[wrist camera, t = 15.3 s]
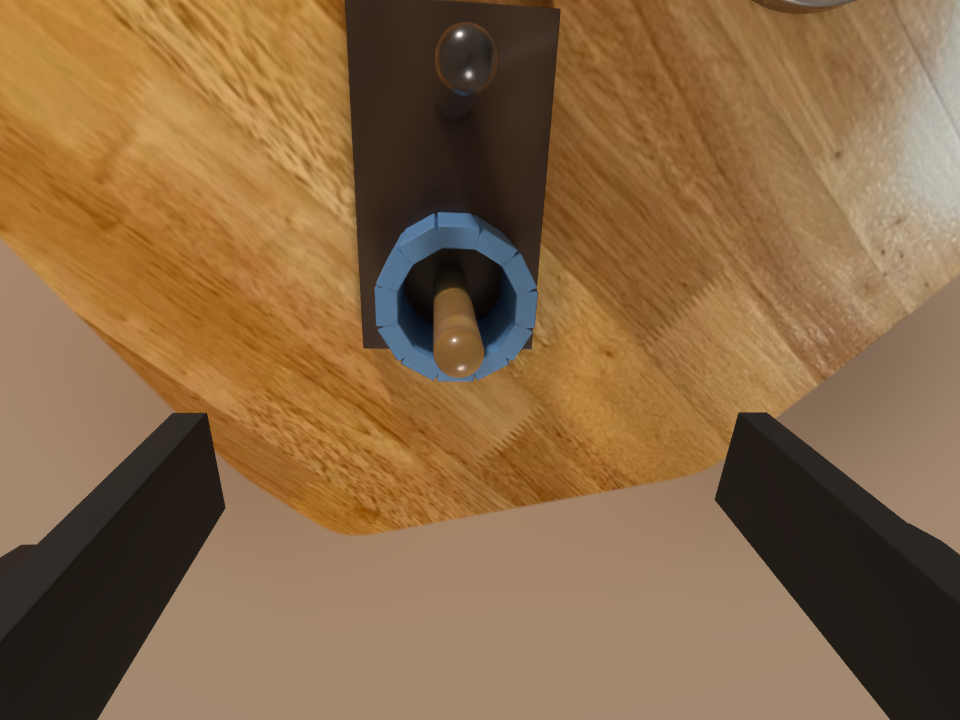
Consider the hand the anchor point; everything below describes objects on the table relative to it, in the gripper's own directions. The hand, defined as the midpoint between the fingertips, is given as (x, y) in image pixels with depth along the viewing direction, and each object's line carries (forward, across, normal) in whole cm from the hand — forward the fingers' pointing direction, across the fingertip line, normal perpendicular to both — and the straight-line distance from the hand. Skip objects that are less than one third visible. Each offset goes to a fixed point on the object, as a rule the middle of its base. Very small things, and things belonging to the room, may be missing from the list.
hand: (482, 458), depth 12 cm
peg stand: (+21, 0, +5) cm, 22 cm away
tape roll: (+20, 0, 0) cm, 20 cm away
